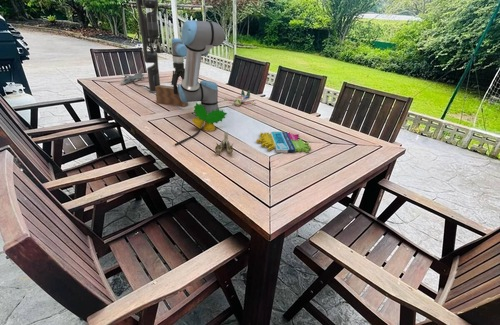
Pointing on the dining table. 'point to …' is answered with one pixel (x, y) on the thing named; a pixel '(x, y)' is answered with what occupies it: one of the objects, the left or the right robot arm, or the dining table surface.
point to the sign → (283, 142)
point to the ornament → (207, 117)
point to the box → (168, 96)
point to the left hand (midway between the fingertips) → (155, 52)
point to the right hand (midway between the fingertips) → (180, 92)
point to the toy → (241, 99)
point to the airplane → (134, 77)
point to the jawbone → (224, 145)
